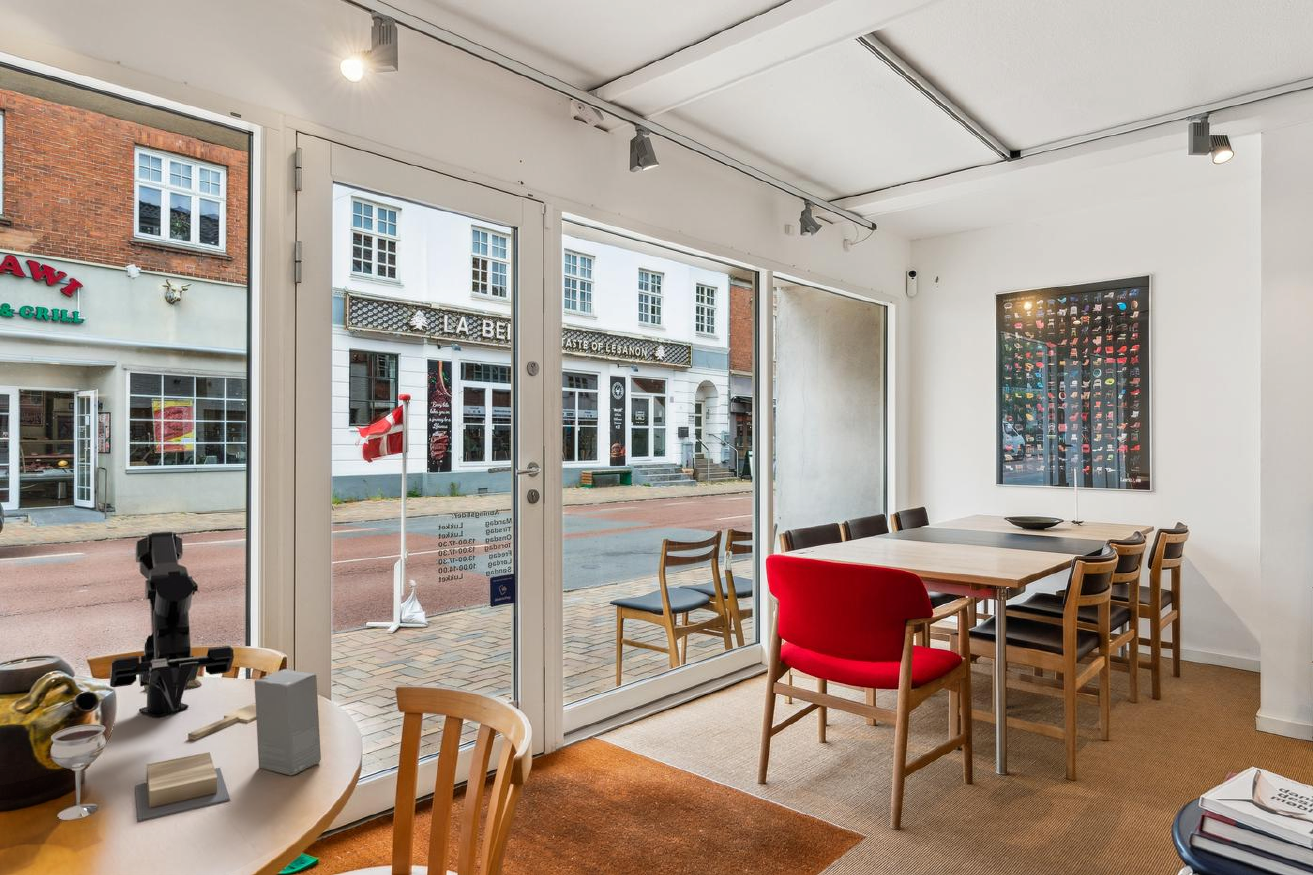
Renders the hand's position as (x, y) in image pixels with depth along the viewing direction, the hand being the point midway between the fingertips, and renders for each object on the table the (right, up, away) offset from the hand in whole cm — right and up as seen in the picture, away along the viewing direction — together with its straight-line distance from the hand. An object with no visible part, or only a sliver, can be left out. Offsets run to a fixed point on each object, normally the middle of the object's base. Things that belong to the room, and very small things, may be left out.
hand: (175, 709), depth 138 cm
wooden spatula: (+1, -8, +17) cm, 19 cm away
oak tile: (+5, -7, -7) cm, 11 cm away
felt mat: (+9, -9, -13) cm, 18 cm away
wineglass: (-3, -9, -19) cm, 21 cm away
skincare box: (+21, -9, -2) cm, 23 cm away
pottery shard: (-23, -8, +37) cm, 45 cm away
